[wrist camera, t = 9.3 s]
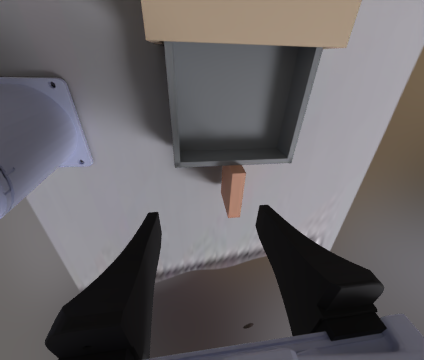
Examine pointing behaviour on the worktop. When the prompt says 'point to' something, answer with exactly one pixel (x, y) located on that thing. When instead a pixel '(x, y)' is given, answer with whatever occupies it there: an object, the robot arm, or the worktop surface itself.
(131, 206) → the worktop surface
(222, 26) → the sleeve
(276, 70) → the tray
